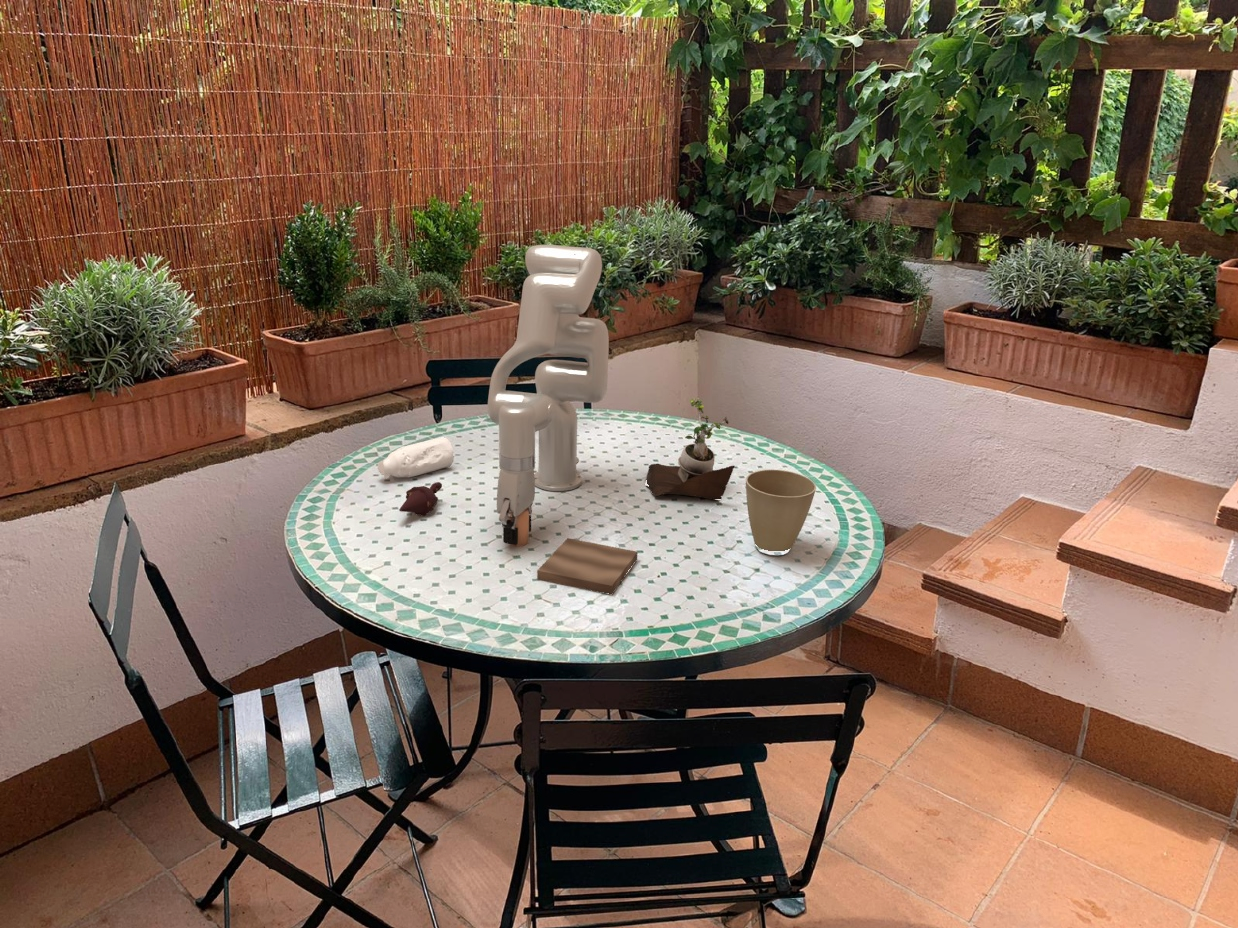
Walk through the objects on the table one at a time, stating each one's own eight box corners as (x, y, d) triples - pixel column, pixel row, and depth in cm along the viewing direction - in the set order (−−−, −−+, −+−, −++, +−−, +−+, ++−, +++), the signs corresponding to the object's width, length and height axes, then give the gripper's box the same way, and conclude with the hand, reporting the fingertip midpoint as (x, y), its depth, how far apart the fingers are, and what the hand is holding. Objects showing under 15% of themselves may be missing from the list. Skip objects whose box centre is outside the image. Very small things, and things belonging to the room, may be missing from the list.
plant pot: (755, 568, 195) (762, 498, 189) (729, 537, 208) (735, 471, 202) (819, 561, 199) (828, 493, 193) (789, 531, 212) (797, 467, 206)
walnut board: (567, 546, 201) (567, 537, 200) (637, 560, 196) (637, 551, 195) (537, 579, 187) (537, 570, 186) (611, 594, 182) (611, 585, 181)
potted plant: (717, 481, 245) (744, 403, 230) (719, 527, 230) (747, 447, 215) (644, 466, 243) (666, 387, 229) (641, 511, 228) (664, 430, 214)
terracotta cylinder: (512, 534, 205) (511, 505, 203) (532, 538, 204) (532, 509, 201) (502, 543, 201) (501, 514, 198) (523, 547, 199) (523, 518, 197)
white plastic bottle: (373, 478, 232) (371, 449, 229) (438, 461, 244) (436, 433, 241) (389, 488, 226) (387, 458, 223) (454, 470, 238) (453, 441, 235)
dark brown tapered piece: (416, 503, 203) (455, 486, 216) (390, 489, 205) (429, 472, 219) (409, 530, 206) (448, 511, 219) (383, 516, 208) (423, 497, 221)
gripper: (518, 444, 204) (518, 518, 211) (482, 471, 189) (483, 550, 195) (549, 450, 202) (549, 524, 208) (515, 477, 187) (516, 557, 193)
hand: (517, 536), depth 202 cm, fingers open, 6 cm apart
